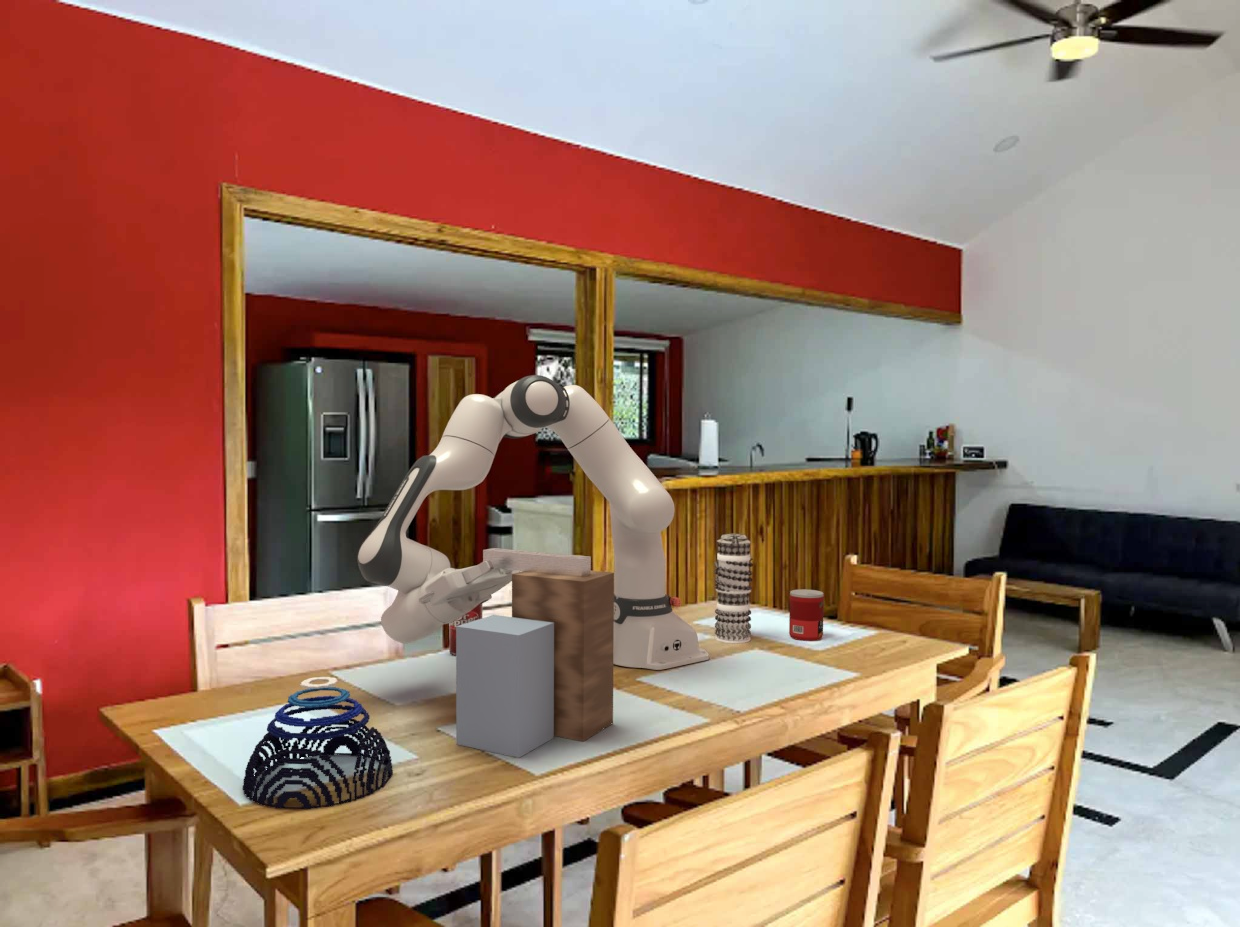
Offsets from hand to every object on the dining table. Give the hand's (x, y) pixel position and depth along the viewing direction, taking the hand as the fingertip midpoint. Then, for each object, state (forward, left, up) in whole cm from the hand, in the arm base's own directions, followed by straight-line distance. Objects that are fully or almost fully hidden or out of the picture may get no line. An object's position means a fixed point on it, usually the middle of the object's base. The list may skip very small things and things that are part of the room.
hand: (506, 560), depth 158 cm
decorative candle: (-67, -29, -27) cm, 78 cm away
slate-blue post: (+5, +13, -27) cm, 30 cm away
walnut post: (-7, +10, -27) cm, 30 cm away
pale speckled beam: (-4, +5, -1) cm, 6 cm away
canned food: (-84, -23, -27) cm, 92 cm away
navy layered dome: (+34, +16, -28) cm, 46 cm away
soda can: (-6, -44, -27) cm, 52 cm away
